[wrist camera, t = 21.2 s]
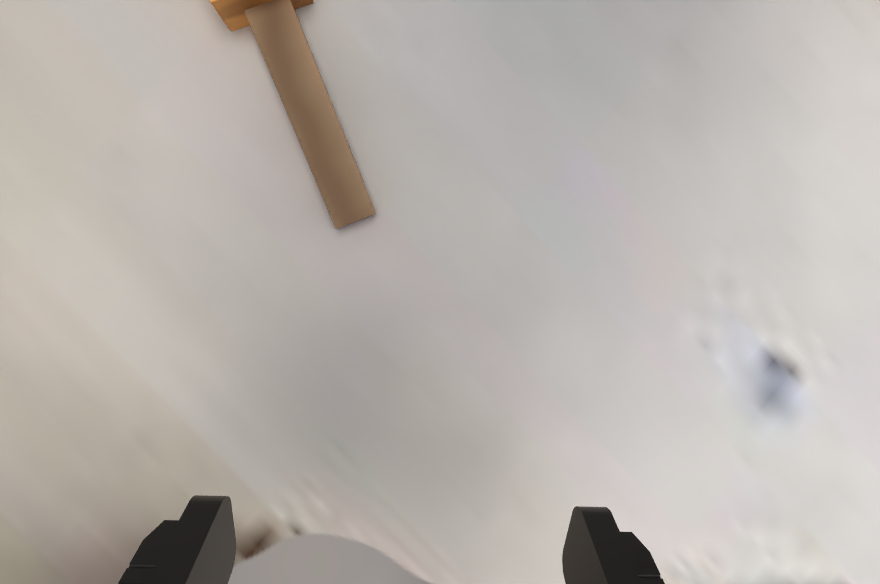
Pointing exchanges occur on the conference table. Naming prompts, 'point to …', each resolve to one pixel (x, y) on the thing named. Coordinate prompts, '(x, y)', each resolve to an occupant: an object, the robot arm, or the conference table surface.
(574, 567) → the robot arm
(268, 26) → the mallet
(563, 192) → the conference table surface
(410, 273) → the conference table surface
